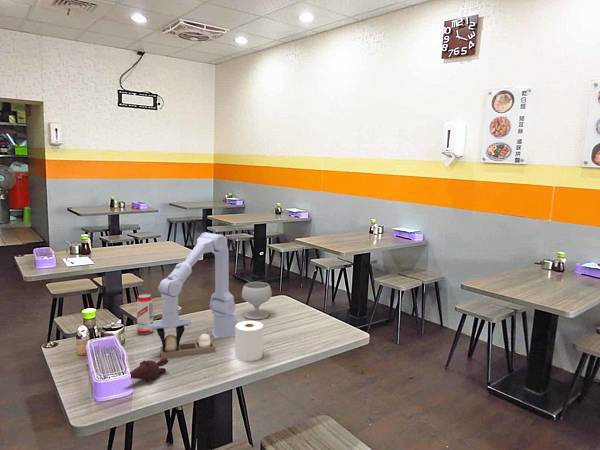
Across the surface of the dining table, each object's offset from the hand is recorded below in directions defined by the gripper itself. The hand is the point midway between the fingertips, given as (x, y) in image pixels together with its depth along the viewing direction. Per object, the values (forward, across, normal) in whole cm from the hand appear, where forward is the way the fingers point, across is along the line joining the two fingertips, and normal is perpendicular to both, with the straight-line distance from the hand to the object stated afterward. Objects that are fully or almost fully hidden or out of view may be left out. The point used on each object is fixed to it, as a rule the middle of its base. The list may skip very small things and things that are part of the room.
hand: (170, 346), depth 162 cm
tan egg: (+2, 0, 0) cm, 2 cm away
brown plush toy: (+4, +10, +17) cm, 20 cm away
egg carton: (+3, -6, 0) cm, 7 cm away
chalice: (+4, -43, -30) cm, 53 cm away
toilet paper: (+4, -27, +11) cm, 29 cm away
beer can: (+4, +7, -26) cm, 27 cm away
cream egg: (+3, -12, 0) cm, 13 cm away
